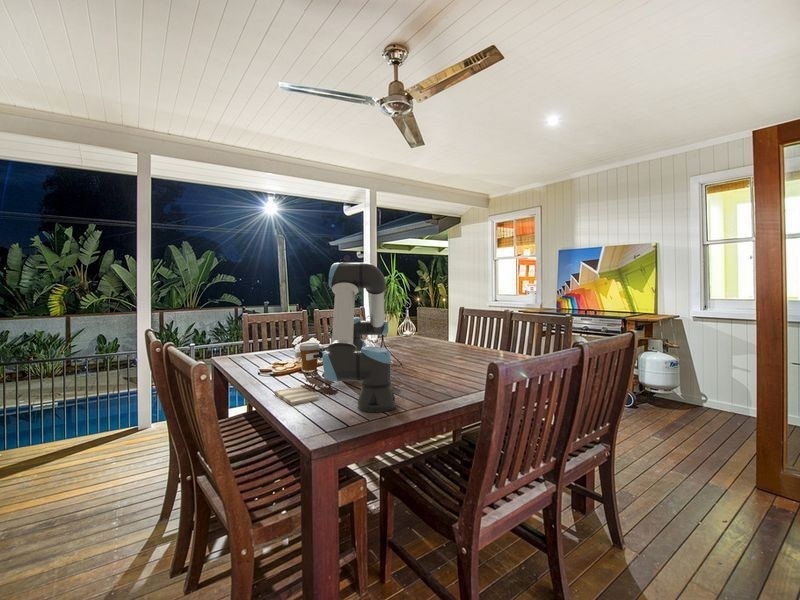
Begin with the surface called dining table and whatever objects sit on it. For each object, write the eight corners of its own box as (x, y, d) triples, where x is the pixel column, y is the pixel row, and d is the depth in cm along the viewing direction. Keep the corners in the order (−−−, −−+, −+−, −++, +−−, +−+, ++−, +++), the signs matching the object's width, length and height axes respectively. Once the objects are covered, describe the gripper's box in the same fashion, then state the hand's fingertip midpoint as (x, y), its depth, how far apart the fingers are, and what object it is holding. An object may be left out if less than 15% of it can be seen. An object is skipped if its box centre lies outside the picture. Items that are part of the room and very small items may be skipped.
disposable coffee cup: (313, 372, 174) (312, 346, 174) (295, 371, 178) (294, 345, 177) (323, 367, 183) (323, 343, 183) (306, 366, 187) (306, 342, 186)
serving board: (319, 399, 160) (318, 395, 160) (291, 405, 153) (291, 401, 153) (300, 389, 175) (300, 386, 175) (274, 394, 168) (274, 391, 168)
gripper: (353, 359, 187) (314, 367, 170) (326, 354, 201) (288, 361, 184) (353, 344, 186) (314, 350, 169) (326, 340, 200) (288, 345, 183)
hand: (301, 356), depth 177 cm, fingers closed on disposable coffee cup, 8 cm apart
